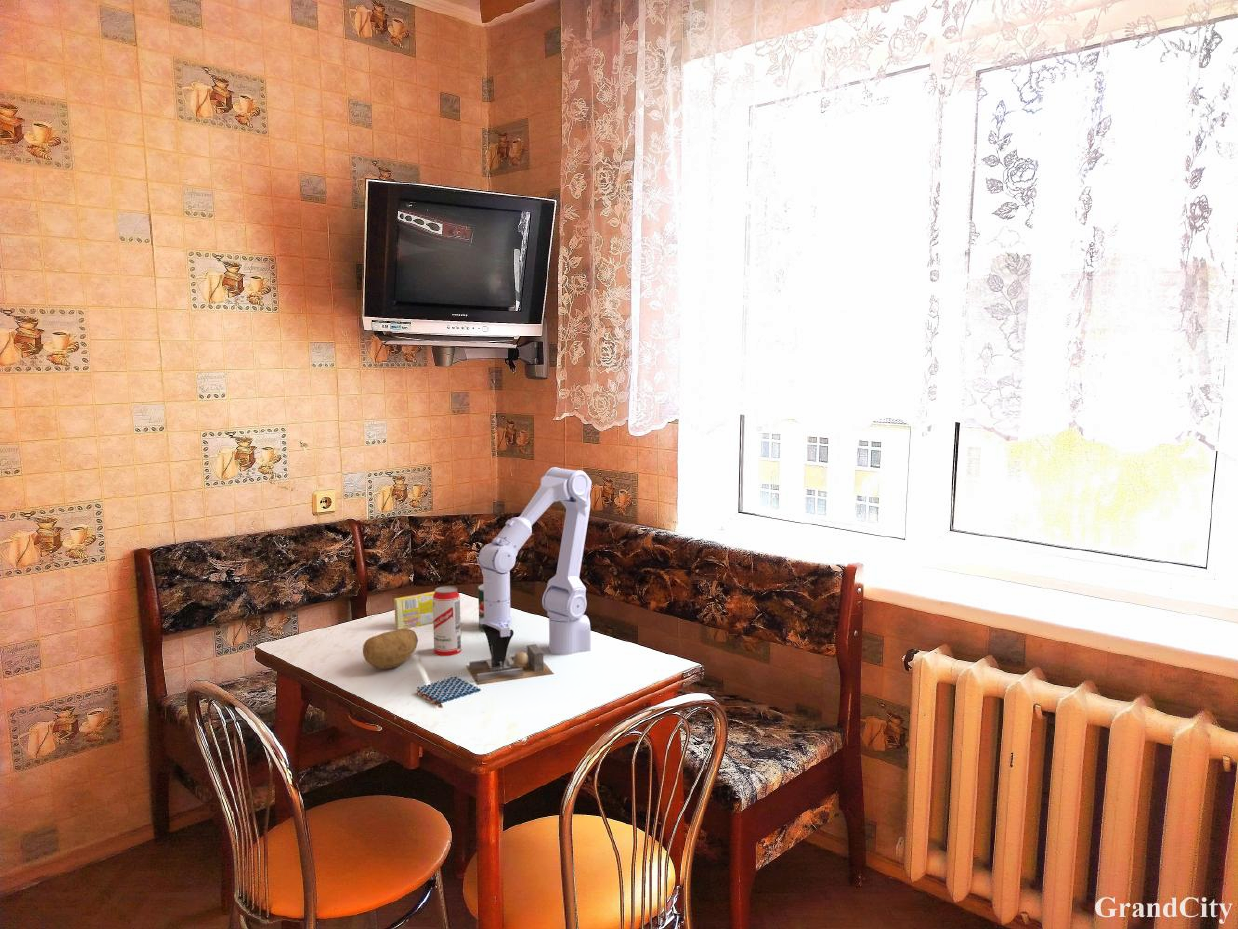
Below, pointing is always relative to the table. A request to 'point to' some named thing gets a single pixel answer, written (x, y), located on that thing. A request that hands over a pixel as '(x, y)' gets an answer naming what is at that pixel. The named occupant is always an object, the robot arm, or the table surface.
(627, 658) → the table surface
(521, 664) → the walnut
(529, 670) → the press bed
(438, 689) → the woven mat
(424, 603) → the candy box
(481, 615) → the canned tomato
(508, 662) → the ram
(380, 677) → the table surface
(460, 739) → the table surface
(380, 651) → the potato
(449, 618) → the beer can
